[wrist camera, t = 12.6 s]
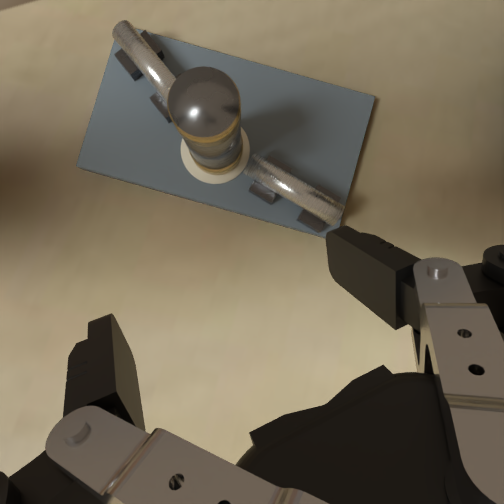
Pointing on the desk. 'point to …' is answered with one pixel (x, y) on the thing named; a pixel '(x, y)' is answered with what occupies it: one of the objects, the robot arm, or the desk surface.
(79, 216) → the desk surface
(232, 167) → the banded tin drum
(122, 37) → the shaft
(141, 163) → the board
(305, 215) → the shaft
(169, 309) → the desk surface
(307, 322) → the desk surface
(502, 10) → the desk surface
